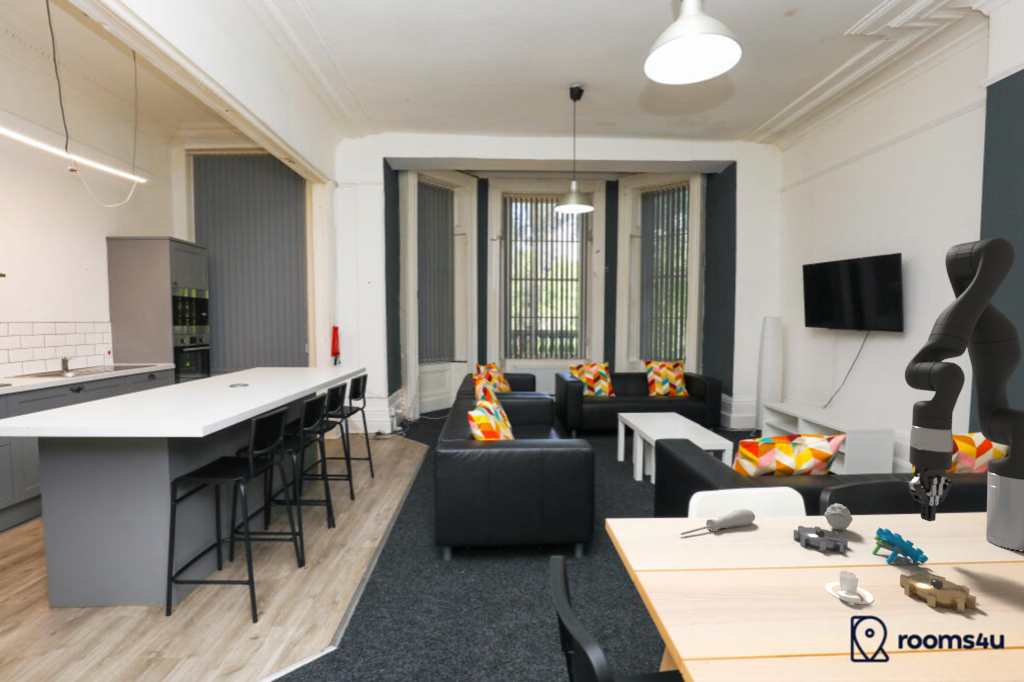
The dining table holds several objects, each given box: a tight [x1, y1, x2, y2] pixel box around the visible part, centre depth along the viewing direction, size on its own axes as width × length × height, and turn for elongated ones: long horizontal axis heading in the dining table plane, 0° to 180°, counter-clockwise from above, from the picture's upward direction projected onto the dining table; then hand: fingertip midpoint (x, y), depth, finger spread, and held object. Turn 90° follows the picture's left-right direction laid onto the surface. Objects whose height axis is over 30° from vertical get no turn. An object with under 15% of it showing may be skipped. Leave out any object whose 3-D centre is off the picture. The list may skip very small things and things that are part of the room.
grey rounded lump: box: [824, 502, 854, 531], centre depth 127 cm, size 6×7×7 cm
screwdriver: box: [680, 508, 756, 536], centre depth 127 cm, size 5×25×4 cm, turn 112°
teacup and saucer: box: [824, 570, 875, 605], centre depth 96 cm, size 9×8×4 cm
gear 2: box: [872, 526, 929, 565], centre depth 109 cm, size 11×6×10 cm
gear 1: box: [792, 525, 849, 554], centre depth 119 cm, size 11×11×3 cm
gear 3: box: [899, 571, 977, 614], centre depth 95 cm, size 11×11×3 cm
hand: (927, 519), depth 113 cm, fingers closed
